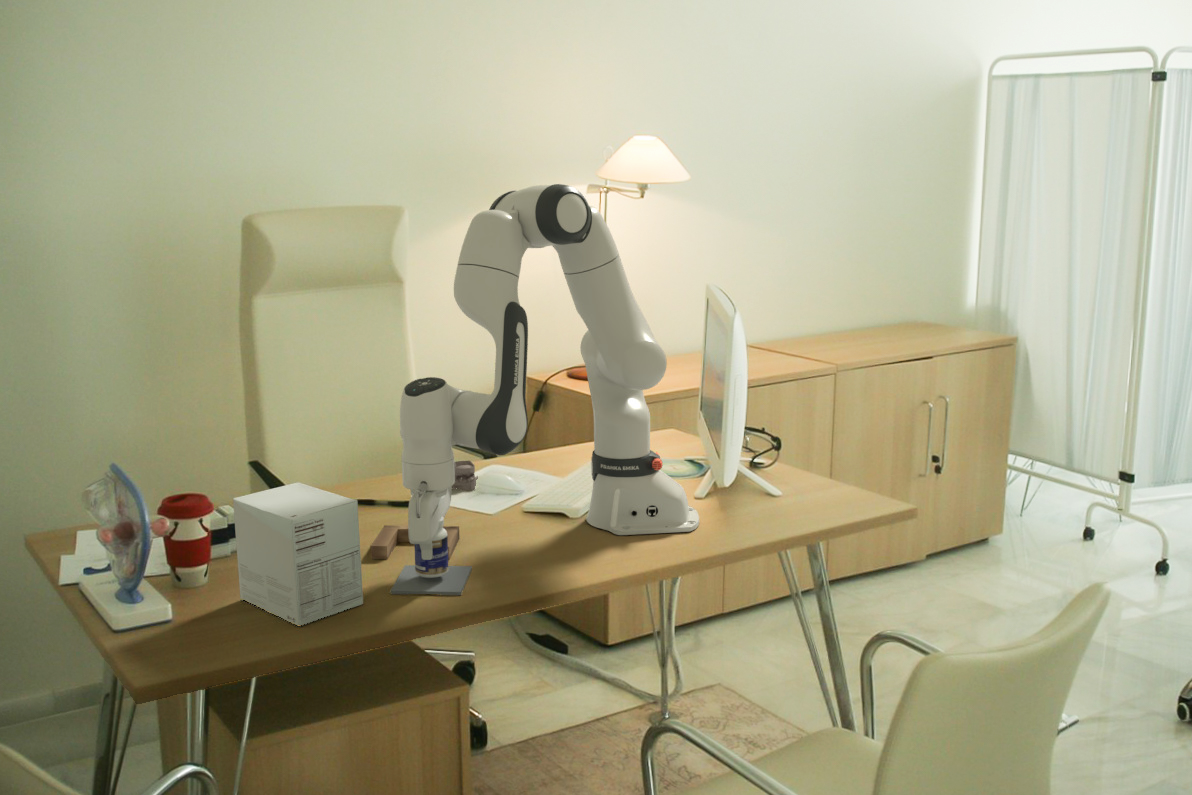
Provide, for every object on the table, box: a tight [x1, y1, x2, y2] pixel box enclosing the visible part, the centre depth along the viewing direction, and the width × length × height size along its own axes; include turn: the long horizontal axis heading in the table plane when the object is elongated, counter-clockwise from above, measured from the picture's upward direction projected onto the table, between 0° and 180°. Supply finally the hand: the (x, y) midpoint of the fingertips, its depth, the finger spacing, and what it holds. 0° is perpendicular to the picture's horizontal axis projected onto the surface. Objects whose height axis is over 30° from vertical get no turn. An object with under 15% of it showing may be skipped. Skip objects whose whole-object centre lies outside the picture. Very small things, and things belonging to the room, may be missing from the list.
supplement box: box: [232, 481, 364, 626], centre depth 195 cm, size 17×13×18 cm
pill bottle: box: [413, 517, 449, 578], centre depth 204 cm, size 6×6×10 cm
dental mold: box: [452, 460, 479, 492], centre depth 260 cm, size 8×7×5 cm
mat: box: [390, 564, 473, 596], centre depth 206 cm, size 12×12×1 cm
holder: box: [370, 524, 461, 561], centre depth 222 cm, size 14×12×2 cm
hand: (431, 551), depth 205 cm, fingers closed on pill bottle, 6 cm apart
